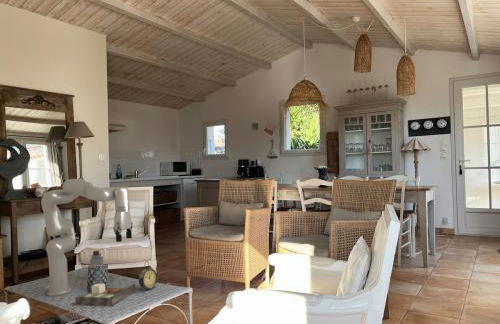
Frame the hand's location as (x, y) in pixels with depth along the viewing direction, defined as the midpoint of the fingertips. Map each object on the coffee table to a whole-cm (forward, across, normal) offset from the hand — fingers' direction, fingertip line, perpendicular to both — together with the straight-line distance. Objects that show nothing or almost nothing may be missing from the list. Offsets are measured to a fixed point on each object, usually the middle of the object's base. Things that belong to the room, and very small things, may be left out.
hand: (124, 239), depth 214 cm
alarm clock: (+31, -10, +7) cm, 33 cm away
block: (+28, +3, -16) cm, 33 cm away
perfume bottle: (+31, -28, -40) cm, 57 cm away
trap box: (+30, +6, -8) cm, 32 cm away
